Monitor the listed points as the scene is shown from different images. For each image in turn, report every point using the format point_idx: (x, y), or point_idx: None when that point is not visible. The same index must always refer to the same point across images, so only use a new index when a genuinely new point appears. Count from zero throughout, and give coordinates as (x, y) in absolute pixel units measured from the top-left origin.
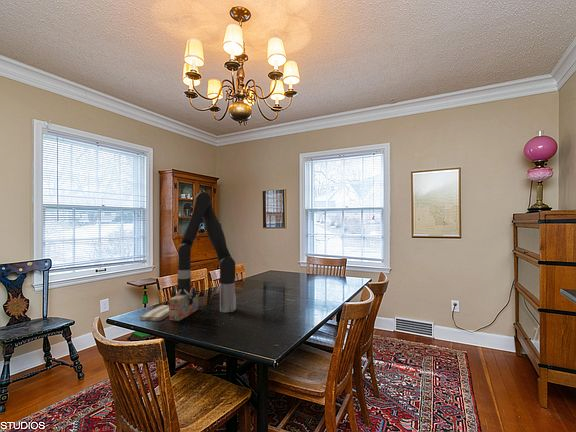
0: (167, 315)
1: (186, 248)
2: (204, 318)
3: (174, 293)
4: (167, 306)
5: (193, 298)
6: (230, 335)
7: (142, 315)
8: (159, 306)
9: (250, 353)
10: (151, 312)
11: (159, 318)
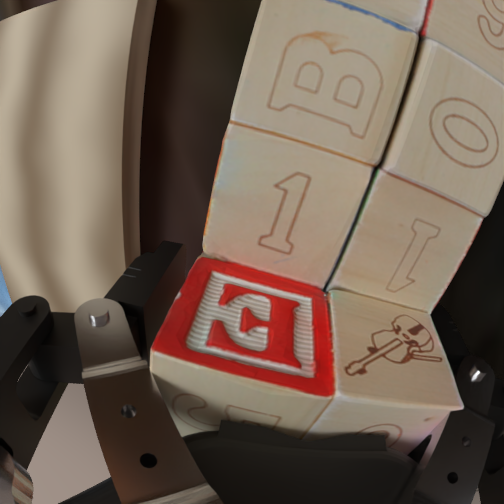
0: (137, 244)
1: None
2: (475, 329)
3: (13, 355)
4: (37, 42)
5: (482, 199)
6: None
7: (10, 293)
8: None
9: (478, 488)
10: (10, 235)
11: None
